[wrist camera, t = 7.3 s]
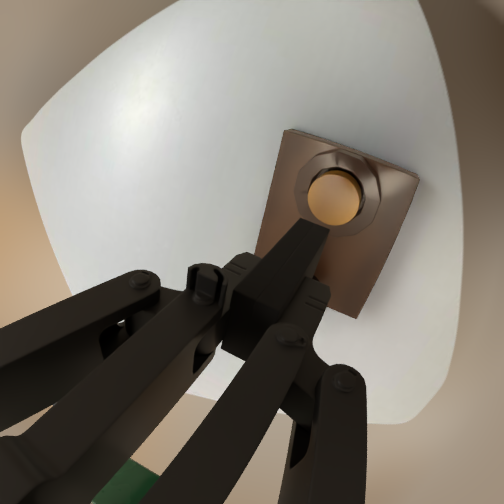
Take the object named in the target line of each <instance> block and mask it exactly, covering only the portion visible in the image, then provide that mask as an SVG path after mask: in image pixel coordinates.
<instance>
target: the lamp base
mask: <svg viewBox="0 0 504 504" xmlns="http://www.w3.org/2000/svg"><path fill="white" fill-rule="evenodd" d="M332 170H339V171H343V172H346V173H348V174H350V175H351V176H352V177H353V178H354V179H355V180H356V181H357V182H358V184H359V186H360V189H361V194H362V198H361V203H360V206H359V209H358V211H357V213H356V215H355V216H354V218H353V219H352V220H350V221H349V222H347V223H345V224H342V225H329V224H326V223H323V222H322V221H320V220H319V219H317V218H316V217H315V216H314V214H313V213H312V211H311V210H310V207H309V204H308V192H309V189H310V187H311V185H312V183H313V182H314V181H315V180H316V179H317V178H318V177H320V176H321V175H322V174H324V173H326V172H328V171H332ZM419 181H420V179H419V177H418V175H417V174H415V173H413V172H411V171H408V170H406V169H404V168H401V167H399V166H396V165H394V164H392V163H389V162H387V161H384V160H382V159H379V158H376V157H374V156H371V155H369V154H366V153H363V152H361V151H358V150H355V149H352V148H350V147H347V146H344V145H341V144H338V143H335V142H332V141H329V140H326V139H323V138H320V137H317V136H314V135H310V134H307V133H304V132H301V131H297V130H294V129H289V130H284V133H283V137H282V141H281V145H280V150H279V154H278V158H277V162H276V166H275V170H274V175H273V179H272V183H271V187H270V191H269V195H268V200H267V204H266V208H265V212H264V216H263V220H262V224H261V229H260V233H259V237H258V241H257V245H256V249H255V253H254V255H256V256H258V257H260V258H263V257H264V256H265V255H266V254H267V253H268V252H269V251H270V250H271V249H272V248H273V247H274V245H275V244H276V243H277V242H278V241H279V240H280V239H281V238H282V237H283V236H284V235H285V234H286V233H287V231H288V230H289V229H290V228H291V227H292V226H293V225H294V224H295V223H296V222H297V221H298V220H299V219H300V218H303V219H305V220H308V221H310V222H313V223H315V224H318V225H320V226H323V227H325V228H328V229H330V232H329V234H328V237H327V240H326V243H325V246H324V248H323V251H322V254H321V257H320V259H319V262H318V265H317V267H316V270H315V273H314V276H316V277H317V279H318V280H319V282H321V283H323V284H325V285H328V286H329V287H330V292H331V297H330V300H329V302H328V305H327V307H329V308H331V309H334V310H336V311H338V312H341V313H343V314H345V315H348V316H350V317H352V318H355V319H357V317H358V315H359V313H360V311H361V309H362V308H363V306H364V304H365V302H366V300H367V298H368V296H369V294H370V292H371V290H372V288H373V286H374V284H375V282H376V280H377V278H378V276H379V274H380V272H381V270H382V268H383V266H384V264H385V262H386V259H387V257H388V255H389V253H390V251H391V249H392V246H393V244H394V242H395V240H396V237H397V235H398V233H399V231H400V228H401V226H402V224H403V221H404V219H405V216H406V214H407V212H408V209H409V207H410V204H411V202H412V199H413V196H414V194H415V191H416V189H417V186H418V183H419Z"/></svg>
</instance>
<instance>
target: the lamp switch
mask: <svg viewBox="0 0 504 504" xmlns="http://www.w3.org/2000/svg"><path fill="white" fill-rule="evenodd" d="M361 198H362V194H361V189H360V186H359V184H358V182H357V181H356V180H355V179H354V178H353V177H352V176H351V175H350V174H348V173H346V172H343V171H339V170H332V171H328V172H326V173H324V174H322V175H321V176H320V177H318V178H317V179H316V180H315V181H314V182H313V183H312V185H311V187H310V189H309V192H308V204H309V207H310V210H311V211H312V213H313V214H314V216H315V217H316V218H317V219H319V220H320V221H322V222H323V223H326V224H329V225H342V224H345V223H347V222H349V221H350V220H352V219H353V218H354V216H355V215H356V213H357V211H358V209H359V206H360V203H361Z"/></svg>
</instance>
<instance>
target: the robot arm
mask: <svg viewBox="0 0 504 504" xmlns="http://www.w3.org/2000/svg"><path fill="white" fill-rule="evenodd" d="M329 232H330V229H328V228H325V227H323V226H320V225H318V224H315V223H313V222H310V221H308V220H305V219H303V218H300V219H299V220H298V221H297V222H296V223H295V224H294V225H293V226H292V227H291V228H290V229H289V230H288V231H287V233H286V234H285V235H284V236H283V237H282V238H281V239H280V240H279V241H278V242H277V243H276V244H275V245H274V247H273V248H272V249H271V250H270V251H269V252H268V253H267V254H266V255H265V256H264V257H263V258H260V257H258V256H256V255H253V254H251V253H249V252H245V253H242V254H239V255H236V256H235V257H234V258H233V259H232V260H231V261H230V262H229V263H227V264H226V265H225V266H224V268H222V269H221V268H220V267H218V266H215V265H212V264H206V263H200V264H194V265H192V266H190V267H188V274H187V285H186V289H185V290H184V291H177V290H173V289H169V288H165V287H161V283H160V279H159V277H158V276H157V275H156V274H154V273H153V272H151V271H147V270H134V271H131V272H128V273H125V274H123V275H121V276H118V277H116V278H114V279H111V280H109V281H107V282H104V283H102V284H99V285H97V286H95V287H92V288H90V289H88V290H85V291H83V292H81V293H79V294H76V295H74V296H72V297H69V298H67V299H65V300H62V301H60V302H58V303H56V304H54V305H51V306H49V307H47V308H44V309H42V310H40V311H38V312H36V313H33V314H31V315H29V316H27V317H24V318H22V319H20V320H18V321H16V322H13V323H11V324H9V325H7V326H5V327H3V328H0V432H1V431H3V430H5V429H7V428H9V427H11V426H13V425H15V424H17V423H19V422H21V421H23V420H24V419H27V418H28V417H30V416H32V415H34V414H36V413H38V412H40V411H41V410H43V409H45V408H47V407H49V406H51V405H53V404H55V403H56V404H55V405H54V406H53V407H52V408H50V409H49V410H48V411H47V412H46V413H45V414H44V415H43V416H42V417H41V418H39V419H38V420H37V421H36V422H35V423H34V424H33V425H32V426H31V427H30V428H29V429H28V430H26V431H25V432H24V433H23V434H21V435H19V436H3V437H0V504H90V503H91V501H92V500H93V498H94V497H95V496H96V495H97V494H98V493H99V492H100V491H101V490H102V488H103V487H104V486H105V485H106V484H107V483H108V482H109V481H110V480H111V478H112V477H113V476H114V475H115V474H116V473H117V472H118V471H119V469H120V468H121V467H122V466H123V465H124V464H125V463H126V462H127V460H128V459H129V458H130V457H131V456H132V455H133V453H134V452H135V451H136V450H137V449H138V448H139V447H140V446H141V444H142V443H143V442H144V441H145V440H146V438H147V437H148V436H149V435H150V434H151V433H152V432H153V430H154V429H155V428H156V427H157V426H158V425H159V423H160V422H161V421H162V420H163V418H164V417H165V416H166V415H167V414H168V413H169V411H170V410H171V409H172V408H173V407H174V405H175V404H176V403H177V402H178V401H179V399H180V398H181V397H182V396H183V395H184V393H185V392H186V391H187V390H188V389H189V387H190V386H191V385H192V384H193V382H194V381H195V380H196V379H197V378H198V376H199V375H200V374H201V373H202V371H203V370H204V369H205V368H206V366H207V365H208V364H209V363H210V362H211V360H212V359H213V357H214V355H215V350H216V347H217V346H218V345H219V343H220V342H221V341H222V340H223V341H222V346H221V349H223V350H224V351H226V352H228V353H230V354H232V355H234V356H236V357H238V358H240V359H242V360H244V361H246V362H245V363H244V364H243V366H242V367H241V369H240V370H239V372H238V373H237V374H236V376H235V377H234V379H233V380H232V382H231V383H230V384H229V386H228V387H227V389H226V390H225V391H224V393H223V394H222V396H221V397H220V398H219V400H218V401H217V403H216V404H215V405H214V407H213V408H212V410H211V411H210V412H209V413H208V415H207V416H206V418H205V419H204V420H203V422H202V423H201V424H200V426H199V427H198V428H197V430H196V431H195V432H194V434H193V435H192V436H191V437H190V439H189V440H188V441H187V443H186V444H185V445H184V447H183V448H182V449H181V451H180V452H179V453H178V455H177V456H176V457H175V458H174V460H173V461H172V462H171V463H170V465H169V466H168V467H167V468H166V470H165V471H164V472H163V473H162V475H161V476H160V477H159V478H158V480H157V481H156V482H155V483H154V485H153V486H152V487H151V488H150V489H149V491H148V492H147V493H146V494H145V495H144V497H143V498H142V499H141V500H140V501H139V503H138V504H223V503H224V501H225V500H226V499H227V497H228V495H229V494H230V492H231V491H232V489H233V487H234V486H235V484H236V483H237V481H238V479H239V478H240V476H241V474H242V473H243V471H244V469H245V468H246V466H247V465H248V463H249V461H250V460H251V458H252V456H253V454H254V453H255V451H256V449H257V447H258V446H259V444H260V442H261V440H262V439H263V437H264V435H265V433H266V431H267V430H268V428H269V426H270V424H271V422H272V420H273V419H274V417H275V415H276V413H277V411H278V409H279V408H280V409H281V410H282V411H284V412H285V413H286V414H287V415H288V416H289V417H291V418H292V419H293V424H292V431H291V436H290V442H289V447H288V454H287V459H286V464H285V470H284V474H283V480H282V485H281V490H280V495H279V500H278V504H365V491H366V468H367V399H366V385H365V381H364V378H363V377H362V376H361V374H360V373H359V372H358V371H357V370H355V369H354V368H353V367H350V366H347V365H345V364H335V365H332V366H329V365H328V364H326V363H325V362H324V361H323V360H322V359H321V358H319V357H318V355H317V354H316V352H315V351H314V348H313V342H312V341H313V337H314V334H315V332H316V330H317V328H318V326H319V323H320V321H321V319H322V316H323V314H324V312H325V309H326V307H327V305H328V302H329V300H330V297H331V292H330V287H329V286H328V285H325V284H323V283H321V282H318V281H316V280H314V279H312V278H313V275H314V273H315V270H316V267H317V265H318V262H319V259H320V257H321V254H322V251H323V248H324V246H325V243H326V240H327V237H328V234H329ZM122 320H124V322H122V323H118V322H120V321H122Z"/></svg>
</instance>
